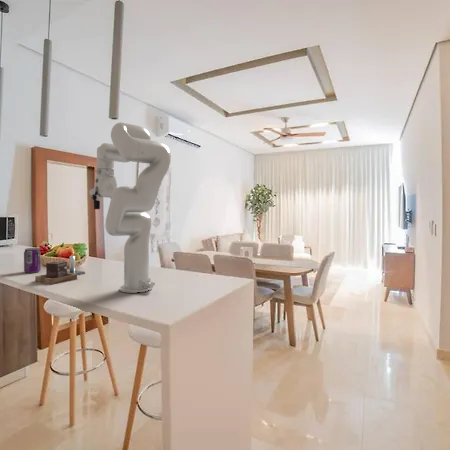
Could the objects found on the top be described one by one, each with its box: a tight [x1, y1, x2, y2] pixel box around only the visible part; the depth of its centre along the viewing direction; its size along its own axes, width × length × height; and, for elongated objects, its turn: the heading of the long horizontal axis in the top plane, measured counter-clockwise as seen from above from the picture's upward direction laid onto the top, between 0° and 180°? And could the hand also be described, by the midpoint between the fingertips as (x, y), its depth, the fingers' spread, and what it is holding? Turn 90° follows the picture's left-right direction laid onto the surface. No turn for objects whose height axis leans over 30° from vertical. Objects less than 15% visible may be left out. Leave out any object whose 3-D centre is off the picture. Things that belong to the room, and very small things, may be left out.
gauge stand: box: [67, 255, 86, 276], centre depth 152 cm, size 8×8×9 cm
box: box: [45, 260, 68, 279], centre depth 138 cm, size 6×6×7 cm
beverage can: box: [23, 247, 42, 274], centre depth 155 cm, size 7×7×12 cm
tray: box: [34, 273, 78, 285], centre depth 138 cm, size 12×12×2 cm
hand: (105, 209), depth 146 cm, fingers open, 9 cm apart
